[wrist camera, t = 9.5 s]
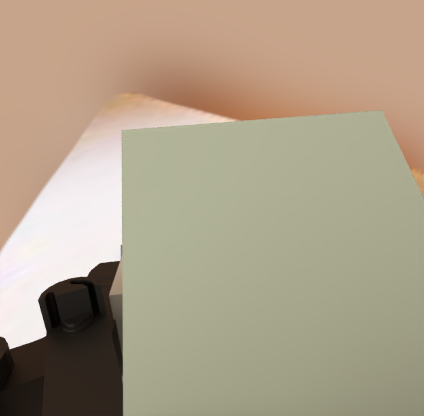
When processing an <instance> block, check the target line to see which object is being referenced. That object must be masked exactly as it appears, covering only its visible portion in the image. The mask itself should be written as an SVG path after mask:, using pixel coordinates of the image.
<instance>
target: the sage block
mask: <svg viewBox="0 0 424 416" xmlns="http://www.w3.org/2000/svg"><path fill="white" fill-rule="evenodd" d="M122 279H123V416H424V197H423V195H422V193H421V191H420V189H419V187H418V185H417V183H416V180H415V178H414V176H413V174H412V172H411V170H410V168H409V166H408V164H407V161H406V159H405V157H404V155H403V153H402V151H401V149H400V147H399V145H398V143H397V140H396V138H395V136H394V134H393V132H392V130H391V128H390V126H389V124H388V121H387V119H386V117H385V115H384V113H383V111H382V110H378V111H366V112H352V113H340V114H326V115H314V116H301V117H288V118H275V119H264V120H263V119H262V120H249V121H236V122H223V123H210V124H197V125H184V126H171V127H158V128H145V129H132V130H122Z"/></svg>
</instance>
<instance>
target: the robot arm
mask: <svg viewBox="0 0 424 416" xmlns="http://www.w3.org/2000/svg"><path fill="white" fill-rule="evenodd" d="M38 302H39V305H40V309H41V313H42V316H43V320H44V324H45V327H46V331H47V334H46V337H44V338H42V339H39V340H36V341H34V342H31V343H28V344H25V345H22V346H19V347H16V348H13V349H9V346H8V343H7V342H6V340H5V338H3V337H0V416H123V382H122V376H123V279H122V257H121V260H120V261H115V262H106V263H100V264H98V265H97V266H96V267H95V268H94V269H92V270H91V271H90V272H89V274H88V277H77V278H71V279H67V280H64V281H61V282H58V283H56V284H54V285H53V286H51V287H49V288H48V289H46V290H45V291H44V292H43V293H42V294H41V295H40V298H39V300H38Z"/></svg>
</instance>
